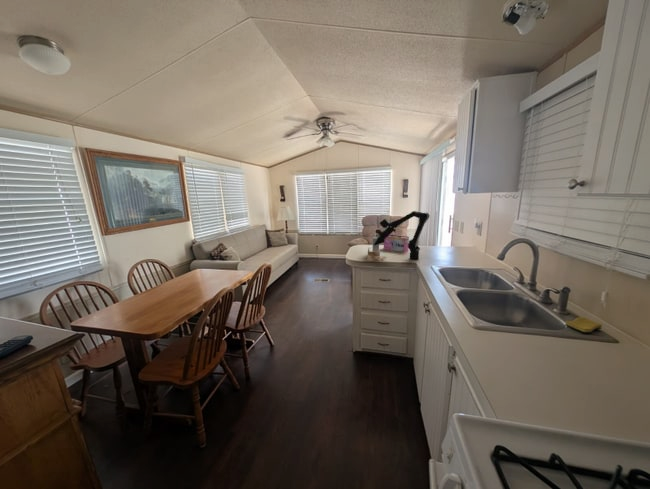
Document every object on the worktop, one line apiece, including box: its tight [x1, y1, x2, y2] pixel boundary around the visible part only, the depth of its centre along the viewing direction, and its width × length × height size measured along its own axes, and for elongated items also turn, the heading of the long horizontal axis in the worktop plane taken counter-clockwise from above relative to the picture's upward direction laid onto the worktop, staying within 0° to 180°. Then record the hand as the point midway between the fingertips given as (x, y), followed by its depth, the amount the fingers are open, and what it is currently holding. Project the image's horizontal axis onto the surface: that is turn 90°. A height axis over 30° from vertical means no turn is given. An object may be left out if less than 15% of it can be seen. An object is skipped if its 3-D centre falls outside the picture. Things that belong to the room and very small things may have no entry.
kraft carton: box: [367, 247, 388, 262], centre depth 204 cm, size 16×15×8 cm
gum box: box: [383, 234, 410, 253], centre depth 235 cm, size 24×8×14 cm, turn 45°
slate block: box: [372, 236, 380, 252], centre depth 218 cm, size 6×6×12 cm
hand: (374, 244), depth 218 cm, fingers closed on slate block, 5 cm apart
